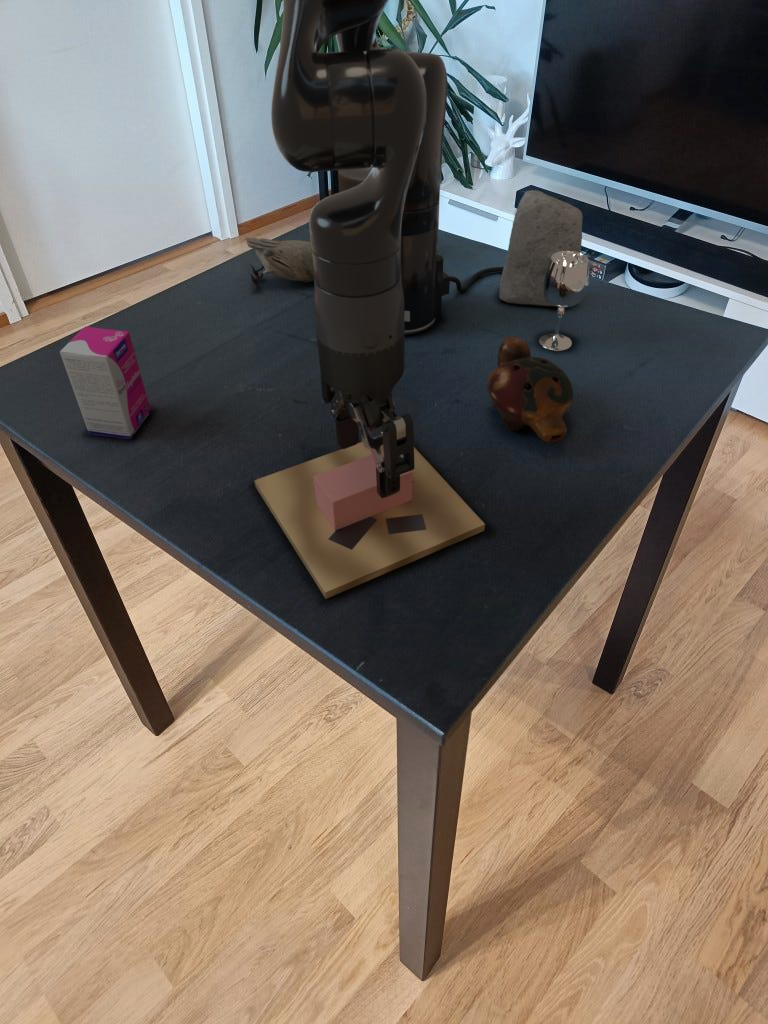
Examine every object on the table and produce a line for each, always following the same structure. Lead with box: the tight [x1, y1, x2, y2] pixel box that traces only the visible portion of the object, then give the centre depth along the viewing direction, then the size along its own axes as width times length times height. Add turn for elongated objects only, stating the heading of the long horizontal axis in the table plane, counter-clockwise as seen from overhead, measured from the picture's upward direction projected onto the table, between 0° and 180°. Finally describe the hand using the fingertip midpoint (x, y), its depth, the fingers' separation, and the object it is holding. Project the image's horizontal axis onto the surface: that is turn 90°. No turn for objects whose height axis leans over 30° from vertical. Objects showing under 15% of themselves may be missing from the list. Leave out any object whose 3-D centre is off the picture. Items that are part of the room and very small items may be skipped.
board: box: [253, 434, 486, 600], centre depth 75 cm, size 18×18×1 cm
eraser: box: [314, 450, 412, 530], centre depth 73 cm, size 9×4×4 cm, turn 119°
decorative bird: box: [244, 237, 314, 290], centre depth 109 cm, size 5×16×8 cm, turn 94°
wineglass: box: [538, 251, 590, 352], centre depth 94 cm, size 6×6×12 cm
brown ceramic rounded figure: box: [487, 336, 574, 444], centre depth 83 cm, size 10×15×8 cm, turn 21°
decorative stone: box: [498, 189, 584, 308], centre depth 101 cm, size 11×6×15 cm, turn 71°
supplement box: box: [59, 326, 152, 440], centre depth 83 cm, size 6×6×12 cm
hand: (367, 468), depth 72 cm, fingers open, 8 cm apart
